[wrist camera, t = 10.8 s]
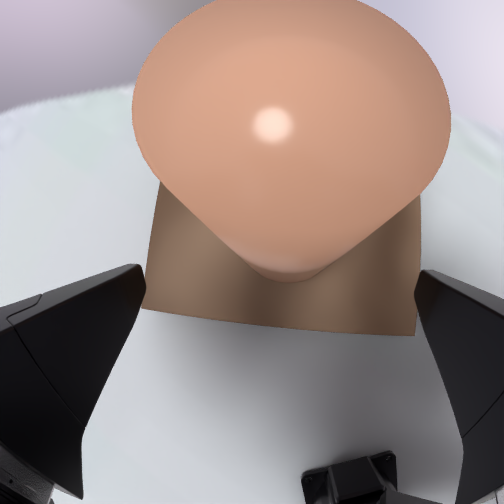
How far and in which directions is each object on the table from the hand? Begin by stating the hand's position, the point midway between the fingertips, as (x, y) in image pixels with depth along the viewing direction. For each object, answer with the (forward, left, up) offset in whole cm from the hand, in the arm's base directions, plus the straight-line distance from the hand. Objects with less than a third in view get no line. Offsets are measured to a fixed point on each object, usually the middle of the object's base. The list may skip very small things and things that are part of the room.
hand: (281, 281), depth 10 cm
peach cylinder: (+3, -1, -8) cm, 8 cm away
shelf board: (+3, -1, -10) cm, 10 cm away
